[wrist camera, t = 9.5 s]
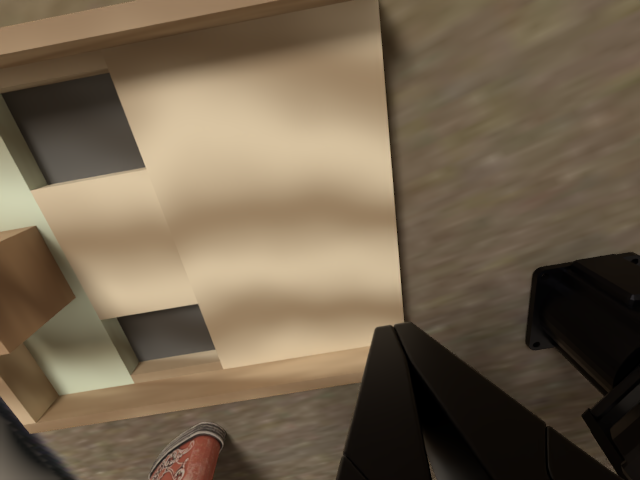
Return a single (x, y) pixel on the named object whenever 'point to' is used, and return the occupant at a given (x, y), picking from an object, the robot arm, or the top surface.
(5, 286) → the block
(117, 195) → the box
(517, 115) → the top surface
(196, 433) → the lighter
